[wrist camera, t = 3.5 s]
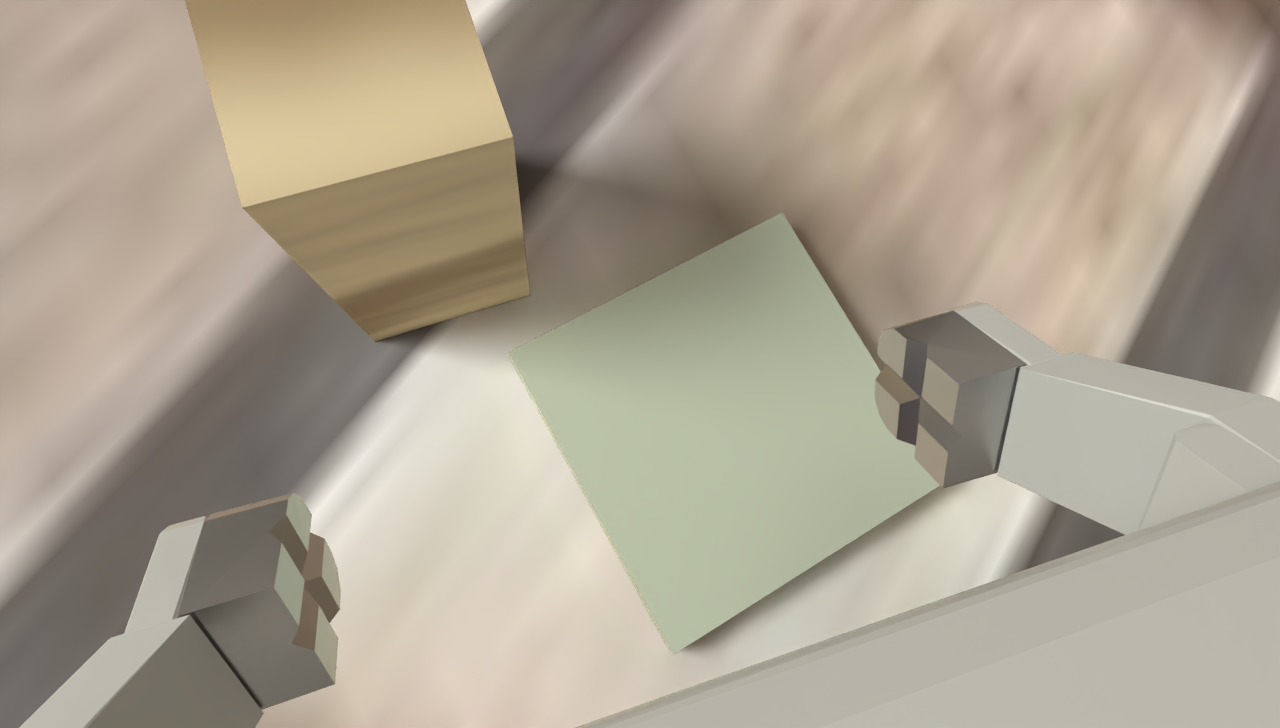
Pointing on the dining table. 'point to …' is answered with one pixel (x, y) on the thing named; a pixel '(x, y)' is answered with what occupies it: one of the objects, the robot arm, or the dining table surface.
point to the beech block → (371, 151)
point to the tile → (722, 427)
